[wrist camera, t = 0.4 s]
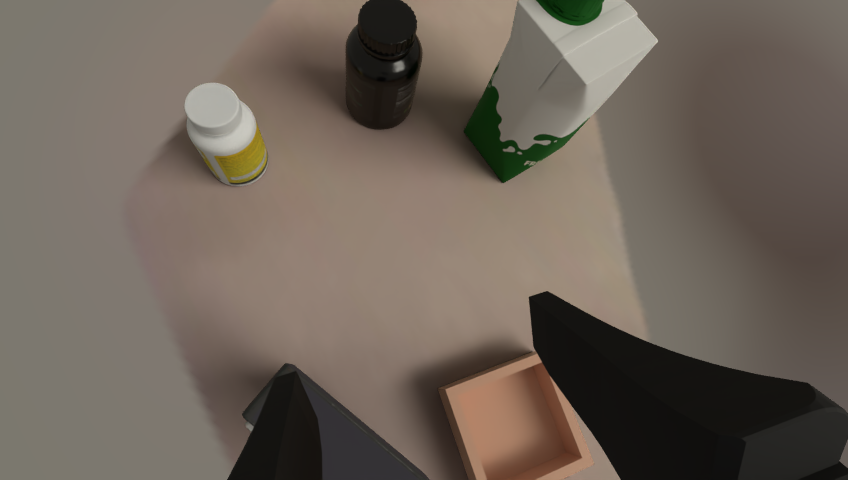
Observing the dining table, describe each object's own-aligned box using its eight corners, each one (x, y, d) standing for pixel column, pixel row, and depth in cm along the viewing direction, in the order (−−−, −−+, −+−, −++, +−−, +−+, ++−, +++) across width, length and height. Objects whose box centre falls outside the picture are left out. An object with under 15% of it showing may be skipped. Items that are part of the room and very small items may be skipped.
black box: (272, 408, 39) (228, 427, 25) (307, 367, 40) (284, 361, 26) (373, 494, 38) (388, 563, 24) (405, 448, 40) (437, 488, 25)
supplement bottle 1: (279, 150, 45) (261, 91, 36) (252, 196, 44) (227, 148, 34) (227, 128, 45) (196, 63, 36) (199, 174, 43) (158, 118, 34)
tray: (574, 457, 41) (594, 464, 38) (476, 502, 39) (488, 513, 36) (533, 351, 44) (548, 349, 40) (437, 388, 41) (445, 389, 38)
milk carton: (512, 93, 52) (607, -71, 33) (562, 156, 50) (692, 23, 31) (451, 129, 49) (515, -27, 30) (502, 196, 48) (603, 77, 29)
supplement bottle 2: (404, 73, 50) (421, -17, 39) (416, 128, 48) (437, 52, 37) (341, 77, 49) (339, -14, 37) (351, 134, 47) (352, 57, 36)
